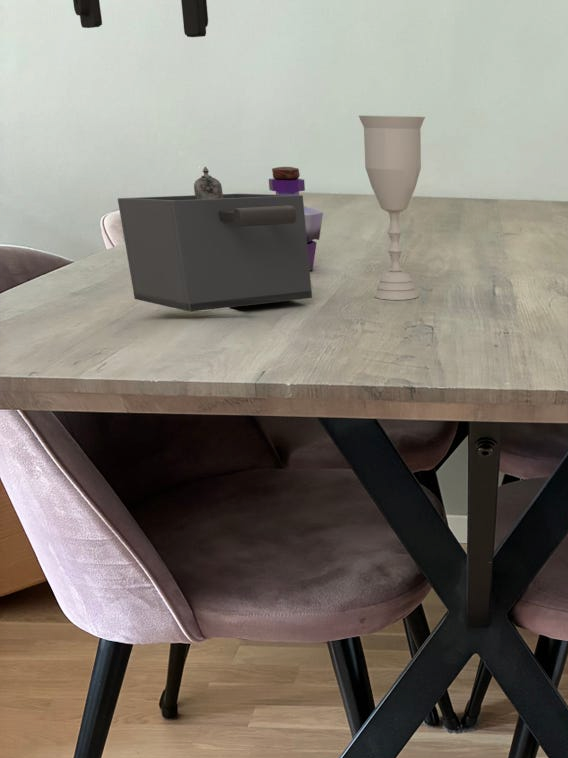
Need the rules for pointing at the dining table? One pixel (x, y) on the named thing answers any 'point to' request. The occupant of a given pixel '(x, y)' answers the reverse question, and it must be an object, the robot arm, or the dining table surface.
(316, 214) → the potion bottle
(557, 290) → the dining table surface
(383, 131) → the chalice
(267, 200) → the dark grey rectangular box
